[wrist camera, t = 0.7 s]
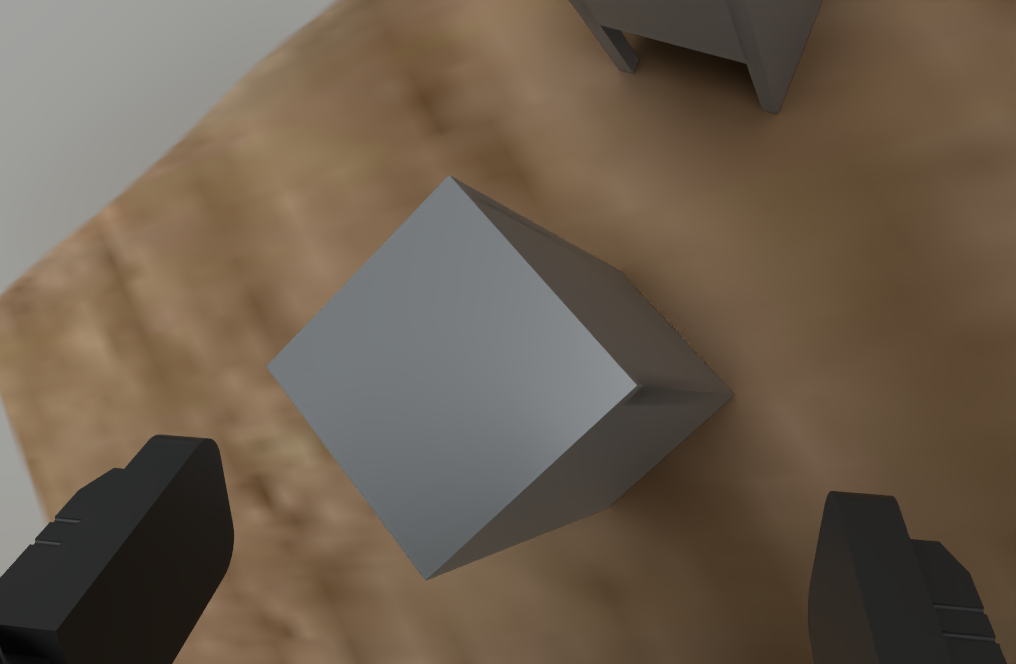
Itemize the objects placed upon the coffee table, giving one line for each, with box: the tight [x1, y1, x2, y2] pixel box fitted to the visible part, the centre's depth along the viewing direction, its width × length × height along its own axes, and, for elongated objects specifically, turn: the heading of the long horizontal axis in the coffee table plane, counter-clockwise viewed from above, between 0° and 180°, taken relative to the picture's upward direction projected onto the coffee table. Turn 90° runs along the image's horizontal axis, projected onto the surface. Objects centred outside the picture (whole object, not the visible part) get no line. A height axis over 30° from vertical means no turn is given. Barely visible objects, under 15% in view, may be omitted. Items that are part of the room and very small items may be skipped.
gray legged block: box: [266, 175, 735, 581], centre depth 29 cm, size 6×6×16 cm
